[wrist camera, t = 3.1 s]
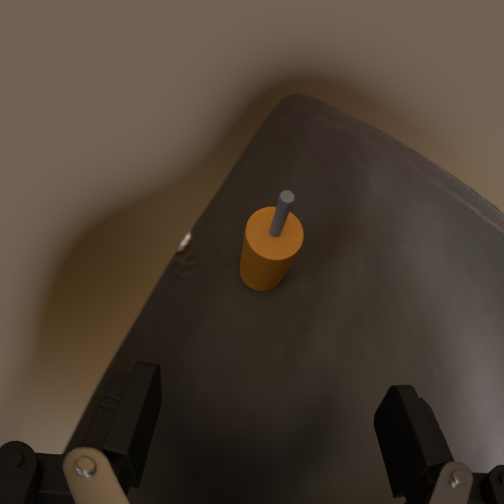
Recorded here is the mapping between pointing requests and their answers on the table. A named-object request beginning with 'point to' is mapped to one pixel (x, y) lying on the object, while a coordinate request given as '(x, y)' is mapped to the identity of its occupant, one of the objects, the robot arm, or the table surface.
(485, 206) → the table surface
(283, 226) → the screwdriver
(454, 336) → the table surface
